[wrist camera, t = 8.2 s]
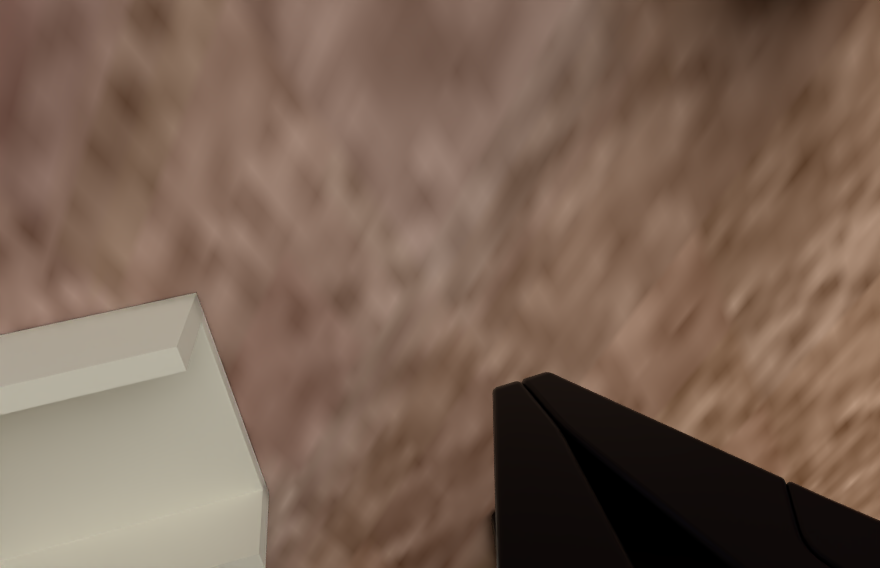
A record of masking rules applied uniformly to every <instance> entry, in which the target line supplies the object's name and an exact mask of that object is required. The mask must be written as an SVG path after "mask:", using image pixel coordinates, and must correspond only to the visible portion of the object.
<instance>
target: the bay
mask: <svg viewBox="0 0 880 568" xmlns="http://www.w3.org/2000/svg"><path fill="white" fill-rule="evenodd" d="M268 504H269V492H268V489H267V486H266V484H265V481H264V478H263V475H262V473H261V470H260V467H259V464H258V462H257V459H256V456H255V453H254V451H253V448H252V445H251V442H250V440H249V437H248V434H247V431H246V428H245V426H244V423H243V420H242V417H241V415H240V412H239V409H238V406H237V404H236V401H235V398H234V395H233V393H232V390H231V387H230V384H229V382H228V379H227V376H226V373H225V370H224V368H223V365H222V362H221V359H220V357H219V354H218V351H217V348H216V346H215V343H214V340H213V337H212V335H211V332H210V329H209V326H208V324H207V321H206V318H205V315H204V312H203V310H202V307H201V304H200V301H199V299H198V296H197V293H192V294H188V295H183V296H178V297H174V298H169V299H164V300H160V301H155V302H151V303H146V304H141V305H137V306H132V307H128V308H123V309H118V310H114V311H109V312H105V313H100V314H95V315H91V316H86V317H82V318H77V319H72V320H68V321H63V322H59V323H54V324H49V325H45V326H40V327H36V328H31V329H26V330H22V331H17V332H12V333H8V334H3V335H0V568H265V567H266V546H267V525H268Z"/></svg>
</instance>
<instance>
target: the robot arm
mask: <svg viewBox="0 0 880 568" xmlns="http://www.w3.org/2000/svg"><path fill="white" fill-rule="evenodd" d="M493 431H494V475H495V512H494V513H493V515H492V519H491V521H492V528H493V535H494V543H495V550H496V562H497V568H880V521H879V520H877V519H875V518H872V517H870V516H868V515H865V514H863V513H861V512H859V511H856V510H854V509H852V508H849V507H847V506H845V505H842V504H840V503H838V502H835V501H833V500H831V499H828V498H826V497H824V496H822V495H819V494H817V493H815V492H813V491H811V490H808V489H806V488H804V487H802V486H800V485H797V484H795V483H793V482H788V483H787V484H786V483H785V480H784V479H783V478H781V477H779V476H777V475H775V474H773V473H770V472H768V471H766V470H764V469H762V468H759V467H757V466H755V465H753V464H751V463H748V462H746V461H744V460H742V459H740V458H737V457H735V456H733V455H731V454H729V453H726V452H724V451H722V450H720V449H718V448H715V447H713V446H711V445H709V444H707V443H704V442H702V441H700V440H698V439H696V438H693V437H691V436H689V435H687V434H685V433H682V432H680V431H678V430H676V429H674V428H671V427H669V426H667V425H665V424H663V423H660V422H658V421H656V420H654V419H652V418H649V417H647V416H645V415H643V414H641V413H638V412H636V411H634V410H632V409H630V408H627V407H625V406H623V405H621V404H619V403H616V402H614V401H612V400H610V399H608V398H605V397H603V396H601V395H599V394H597V393H594V392H592V391H590V390H588V389H586V388H583V387H581V386H579V385H577V384H575V383H572V382H570V381H568V380H566V379H563V378H561V377H559V376H557V375H555V374H552V373H549V372H545V373H541V374H538V375H535V376H532V377H528V378H525V379H524V380H523V381H522V383H521V382H518V381H516V382H512V383H509V384H506V385H502V386H499V387H496V388H495V389H494V390H493Z"/></svg>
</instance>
